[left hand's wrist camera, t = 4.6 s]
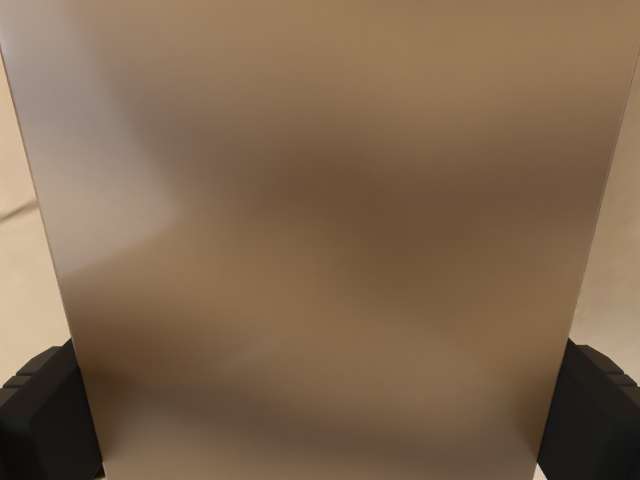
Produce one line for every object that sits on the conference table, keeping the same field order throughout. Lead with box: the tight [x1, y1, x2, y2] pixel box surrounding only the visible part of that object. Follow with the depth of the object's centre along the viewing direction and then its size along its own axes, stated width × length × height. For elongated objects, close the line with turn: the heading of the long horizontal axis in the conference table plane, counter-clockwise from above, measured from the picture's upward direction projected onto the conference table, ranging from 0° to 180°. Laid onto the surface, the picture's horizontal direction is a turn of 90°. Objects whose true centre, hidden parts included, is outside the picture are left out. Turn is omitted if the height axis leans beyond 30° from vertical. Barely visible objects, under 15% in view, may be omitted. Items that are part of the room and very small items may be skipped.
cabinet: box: [0, 0, 640, 480], centre depth 12 cm, size 19×10×11 cm, turn 0°
